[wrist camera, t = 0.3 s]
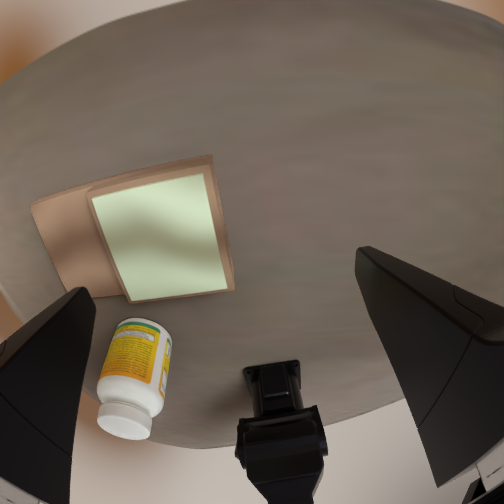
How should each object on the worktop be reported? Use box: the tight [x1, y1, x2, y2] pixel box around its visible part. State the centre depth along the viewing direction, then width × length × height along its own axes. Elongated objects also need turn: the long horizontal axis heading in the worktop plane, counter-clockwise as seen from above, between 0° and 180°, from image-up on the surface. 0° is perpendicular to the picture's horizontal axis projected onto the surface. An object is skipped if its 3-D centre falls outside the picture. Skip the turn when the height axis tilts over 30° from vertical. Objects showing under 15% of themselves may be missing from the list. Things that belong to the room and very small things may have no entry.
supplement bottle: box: [97, 318, 172, 440], centre depth 25 cm, size 6×6×11 cm
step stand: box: [29, 154, 235, 304], centre depth 22 cm, size 10×16×3 cm, turn 98°
